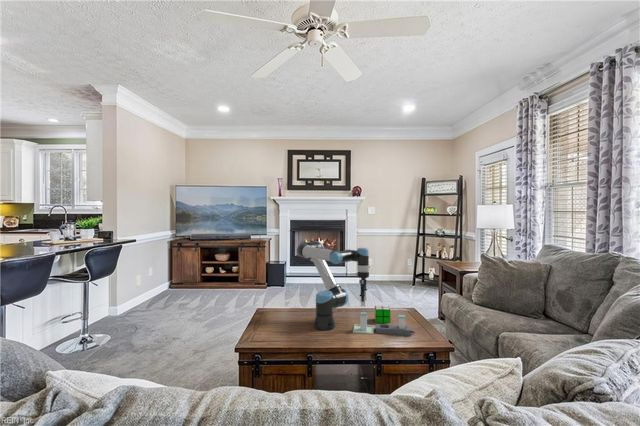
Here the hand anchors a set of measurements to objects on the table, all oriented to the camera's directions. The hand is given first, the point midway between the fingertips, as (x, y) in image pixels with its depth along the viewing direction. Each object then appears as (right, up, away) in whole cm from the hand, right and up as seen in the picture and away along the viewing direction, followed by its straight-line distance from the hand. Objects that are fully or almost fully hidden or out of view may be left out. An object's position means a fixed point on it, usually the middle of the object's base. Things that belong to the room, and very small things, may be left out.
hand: (363, 303), depth 199 cm
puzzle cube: (+16, -18, +17) cm, 29 cm away
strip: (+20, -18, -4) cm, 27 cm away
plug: (0, -17, 0) cm, 17 cm away
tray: (0, -18, 0) cm, 18 cm away
